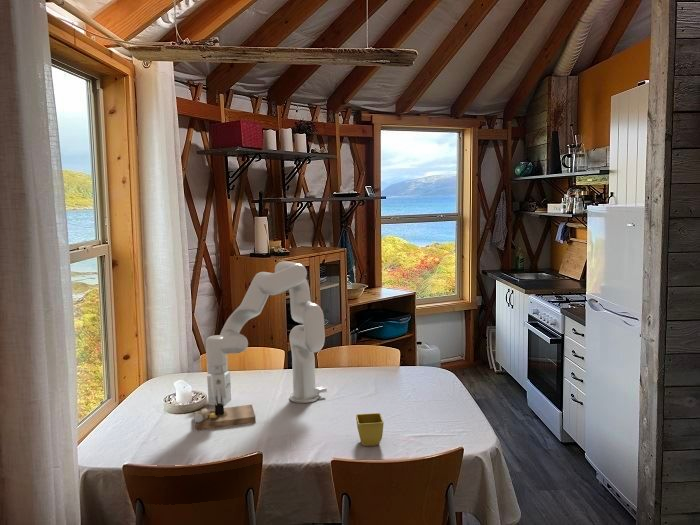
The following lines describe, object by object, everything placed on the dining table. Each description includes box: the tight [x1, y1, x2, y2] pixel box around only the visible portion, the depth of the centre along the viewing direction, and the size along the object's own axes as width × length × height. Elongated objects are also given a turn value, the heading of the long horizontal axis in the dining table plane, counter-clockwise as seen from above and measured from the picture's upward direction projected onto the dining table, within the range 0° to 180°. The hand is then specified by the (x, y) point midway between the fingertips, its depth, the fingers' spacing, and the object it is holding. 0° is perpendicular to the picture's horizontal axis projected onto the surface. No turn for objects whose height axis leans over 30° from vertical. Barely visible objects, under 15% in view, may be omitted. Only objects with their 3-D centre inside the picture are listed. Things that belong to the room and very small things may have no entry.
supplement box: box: [206, 371, 232, 406], centre depth 228 cm, size 7×7×13 cm
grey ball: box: [193, 414, 203, 423], centre depth 202 cm, size 3×3×3 cm
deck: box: [194, 404, 257, 431], centre depth 210 cm, size 22×13×4 cm, turn 106°
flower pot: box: [355, 412, 384, 447], centre depth 187 cm, size 9×9×9 cm
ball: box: [209, 413, 217, 418], centre depth 209 cm, size 3×3×3 cm
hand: (219, 413), depth 209 cm, fingers closed
